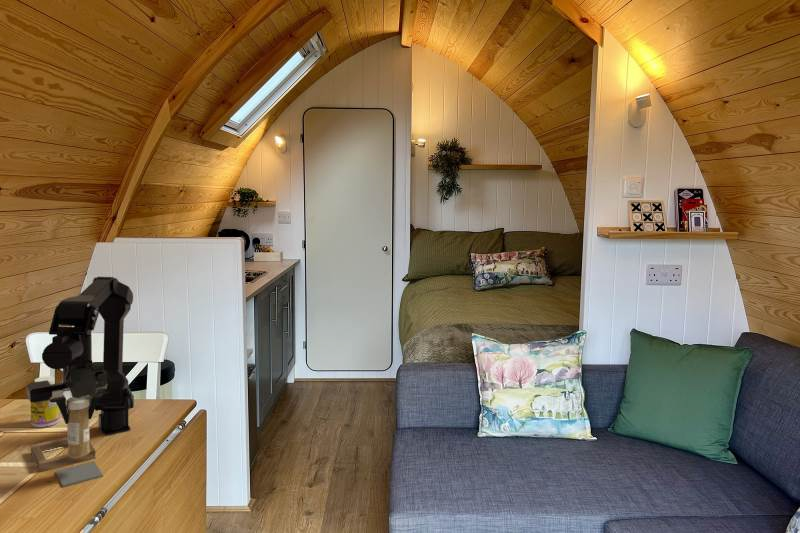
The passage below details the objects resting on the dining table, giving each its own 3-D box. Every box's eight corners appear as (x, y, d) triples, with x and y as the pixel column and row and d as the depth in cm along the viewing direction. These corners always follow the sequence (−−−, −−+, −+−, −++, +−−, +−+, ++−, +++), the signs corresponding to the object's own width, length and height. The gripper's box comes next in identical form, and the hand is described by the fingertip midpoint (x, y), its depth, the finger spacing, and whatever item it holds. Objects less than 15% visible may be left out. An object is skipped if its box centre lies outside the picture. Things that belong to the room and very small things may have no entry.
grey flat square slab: (94, 462, 132) (94, 461, 132) (102, 476, 126) (102, 474, 126) (55, 472, 126) (55, 470, 126) (62, 487, 121) (62, 485, 120)
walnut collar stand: (84, 440, 142) (83, 433, 142) (95, 458, 134) (95, 450, 134) (31, 452, 135) (30, 445, 134) (39, 472, 126) (39, 463, 126)
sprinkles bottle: (93, 453, 126) (93, 398, 124) (72, 460, 122) (71, 403, 121) (84, 447, 129) (83, 393, 127) (63, 454, 125) (62, 398, 123)
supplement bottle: (25, 425, 149) (23, 380, 147) (47, 416, 155) (46, 373, 154) (43, 430, 147) (42, 384, 145) (65, 421, 153) (64, 377, 152)
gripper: (34, 372, 110) (35, 444, 112) (132, 358, 123) (132, 423, 125) (25, 357, 119) (27, 426, 121) (118, 346, 131) (118, 408, 133)
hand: (78, 421), depth 125 cm, fingers closed on sprinkles bottle, 4 cm apart
